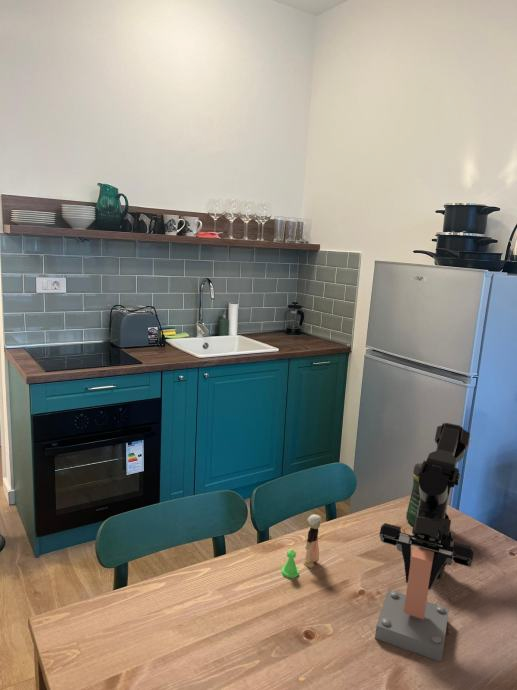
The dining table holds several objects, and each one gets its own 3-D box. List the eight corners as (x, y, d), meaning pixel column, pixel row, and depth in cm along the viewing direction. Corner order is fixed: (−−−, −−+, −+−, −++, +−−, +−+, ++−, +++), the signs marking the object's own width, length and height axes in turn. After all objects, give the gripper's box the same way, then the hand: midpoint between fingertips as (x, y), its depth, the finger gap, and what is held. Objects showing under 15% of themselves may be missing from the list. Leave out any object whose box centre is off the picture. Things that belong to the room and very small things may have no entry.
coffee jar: (419, 532, 151) (428, 471, 148) (401, 518, 158) (409, 459, 155) (445, 527, 155) (454, 467, 152) (427, 513, 162) (435, 456, 159)
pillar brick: (406, 601, 114) (414, 546, 112) (425, 607, 113) (434, 552, 110) (403, 612, 111) (411, 556, 108) (423, 619, 109) (431, 562, 107)
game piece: (296, 580, 126) (298, 557, 125) (278, 575, 128) (280, 552, 126) (300, 569, 130) (302, 547, 129) (283, 565, 132) (285, 543, 130)
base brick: (386, 601, 121) (388, 587, 120) (447, 620, 116) (449, 606, 115) (374, 638, 109) (376, 623, 109) (441, 661, 104) (443, 646, 104)
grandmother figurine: (317, 571, 130) (322, 523, 128) (301, 568, 131) (306, 521, 128) (320, 554, 137) (324, 508, 135) (305, 551, 138) (309, 506, 136)
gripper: (386, 488, 114) (369, 561, 107) (480, 511, 107) (469, 591, 99) (389, 506, 123) (373, 575, 115) (475, 528, 116) (465, 604, 108)
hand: (417, 585), depth 109 cm, fingers closed on pillar brick, 4 cm apart
